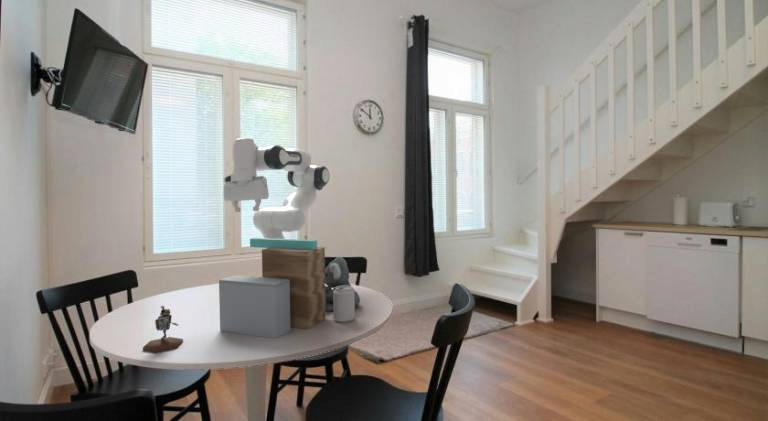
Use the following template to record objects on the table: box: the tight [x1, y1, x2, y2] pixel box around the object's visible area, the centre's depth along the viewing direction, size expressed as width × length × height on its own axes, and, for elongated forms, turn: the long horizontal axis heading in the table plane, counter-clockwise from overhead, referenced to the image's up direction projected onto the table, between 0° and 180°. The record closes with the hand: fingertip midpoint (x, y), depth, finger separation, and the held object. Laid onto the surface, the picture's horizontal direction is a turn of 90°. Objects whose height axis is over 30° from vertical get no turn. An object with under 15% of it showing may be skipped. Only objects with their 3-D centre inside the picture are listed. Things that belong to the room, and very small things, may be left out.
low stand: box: [218, 274, 291, 339], centre depth 137 cm, size 8×22×17 cm, turn 70°
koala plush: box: [325, 256, 361, 312], centre depth 165 cm, size 17×18×20 cm
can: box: [333, 285, 356, 323], centre depth 148 cm, size 8×8×12 cm
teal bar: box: [249, 237, 318, 250], centre depth 148 cm, size 3×26×3 cm, turn 70°
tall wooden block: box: [261, 246, 326, 330], centre depth 147 cm, size 12×18×26 cm, turn 70°
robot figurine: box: [142, 305, 184, 354], centre depth 124 cm, size 11×9×12 cm
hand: (246, 211), depth 167 cm, fingers open, 8 cm apart
